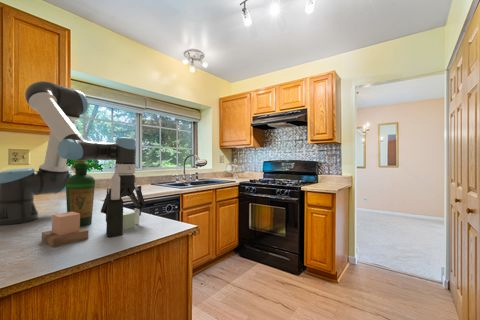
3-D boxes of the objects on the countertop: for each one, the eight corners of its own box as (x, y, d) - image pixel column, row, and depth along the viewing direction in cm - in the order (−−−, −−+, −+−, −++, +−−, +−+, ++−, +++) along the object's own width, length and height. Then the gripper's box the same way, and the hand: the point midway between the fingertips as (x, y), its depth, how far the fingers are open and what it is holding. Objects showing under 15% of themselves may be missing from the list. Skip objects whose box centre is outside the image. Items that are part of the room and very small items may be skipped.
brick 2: (112, 227, 93) (113, 213, 93) (126, 224, 98) (127, 211, 98) (121, 230, 90) (121, 215, 90) (134, 226, 95) (135, 212, 95)
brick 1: (51, 232, 77) (52, 214, 77) (72, 227, 82) (72, 211, 82) (59, 235, 74) (59, 217, 74) (79, 230, 79) (80, 213, 79)
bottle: (78, 229, 90) (80, 160, 90) (57, 226, 92) (59, 159, 93) (100, 222, 100) (102, 160, 101) (81, 220, 103) (82, 159, 103)
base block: (41, 241, 76) (41, 232, 76) (75, 233, 85) (75, 225, 85) (53, 247, 71) (53, 238, 71) (88, 238, 80) (88, 230, 80)
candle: (105, 233, 85) (107, 168, 85) (120, 231, 88) (122, 168, 88) (107, 237, 81) (109, 168, 81) (123, 235, 84) (124, 168, 84)
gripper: (101, 175, 82) (99, 235, 82) (154, 173, 102) (153, 221, 102) (90, 175, 86) (89, 232, 86) (144, 173, 106) (143, 219, 106)
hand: (124, 226), depth 94 cm, fingers open, 11 cm apart
